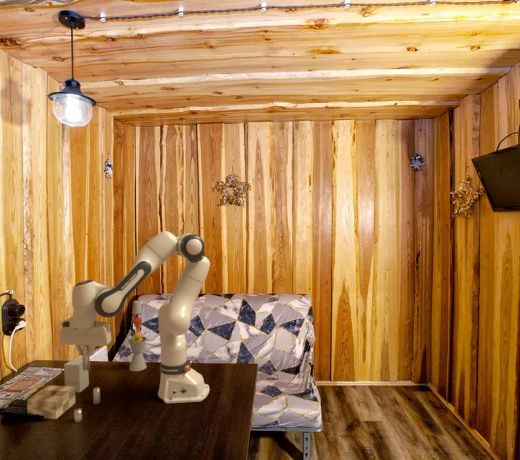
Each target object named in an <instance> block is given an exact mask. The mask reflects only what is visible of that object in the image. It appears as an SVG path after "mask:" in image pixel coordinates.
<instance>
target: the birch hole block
mask: <svg viewBox="0 0 520 460" xmlns="http://www.w3.org/2000/svg"><path fill="white" fill-rule="evenodd" d="M75 404H76V392H75V387H73V386H65V385H47V386H45V387H44V388H42V389H41V390H39V391H38V392H36V393H35V394H34V395H32V396H31V397H29V398H28V399H26V412H27V413H33V414H40V415H43V416H44V418H43V419H48V420H49V419H50V420H56V419H58V418H59V417H60V416H62V415H64V413H65V412H67V411H68V410H69V409H70V408H71V407H73V405H75Z"/></svg>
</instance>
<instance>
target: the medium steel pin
mask: <svg viewBox="0 0 520 460" xmlns="http://www.w3.org/2000/svg"><path fill="white" fill-rule="evenodd" d="M92 391H93V392H92V393H93V394H92V395H93V399H92V400H93V405H98V404H100V403H101V388H100V387H99V386H96V387H94V388H93V390H92Z"/></svg>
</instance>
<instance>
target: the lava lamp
mask: <svg viewBox="0 0 520 460" xmlns="http://www.w3.org/2000/svg"><path fill="white" fill-rule="evenodd" d="M131 311H132V312H131V314H132V315H141V314H143V311H142V305H141V301H140V300H134V301H133V303H132V310H131ZM132 324H133V325H134V326H135V331H136V332H135V333H134V334H133V337H130V338H129V339H127V341H128V342H127V343H128V345H129V346H130V349H131V351H132V353H133V354H132V358H131V361H130V364H129V368H128V370H129V371H131V372H140V371H143V370H146V369H147V364H146V361H145V358H144V354H143V350H144V348H145V345H146V342H147V337H146V336H142V334H141V325H142V318H141V317H140V316H135V317H134V318H133V319H132Z"/></svg>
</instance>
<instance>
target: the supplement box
mask: <svg viewBox="0 0 520 460" xmlns="http://www.w3.org/2000/svg"><path fill="white" fill-rule="evenodd" d="M63 371H64V386H73V387H75V393H81V392H83V390H85V389H86V388H88V386H89V385H90V381H89V380H90V379H89V376H90V375H89V370H87V371H83V358H72V359H71V360H70V361H68V362H66V363H65V364H63Z"/></svg>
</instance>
